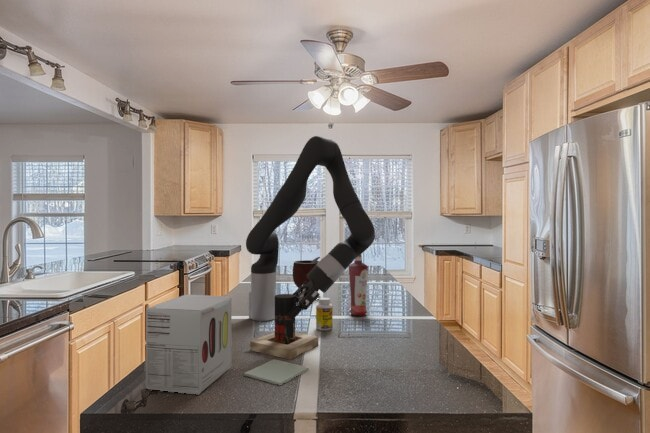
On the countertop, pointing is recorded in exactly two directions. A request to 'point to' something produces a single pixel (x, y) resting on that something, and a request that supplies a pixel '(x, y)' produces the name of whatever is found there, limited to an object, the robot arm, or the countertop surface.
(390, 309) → the countertop surface
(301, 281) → the mate gourd
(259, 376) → the plate
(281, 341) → the deodorant
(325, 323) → the supplement bottle
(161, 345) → the supplement box
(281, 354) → the socket block
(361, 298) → the liquor
